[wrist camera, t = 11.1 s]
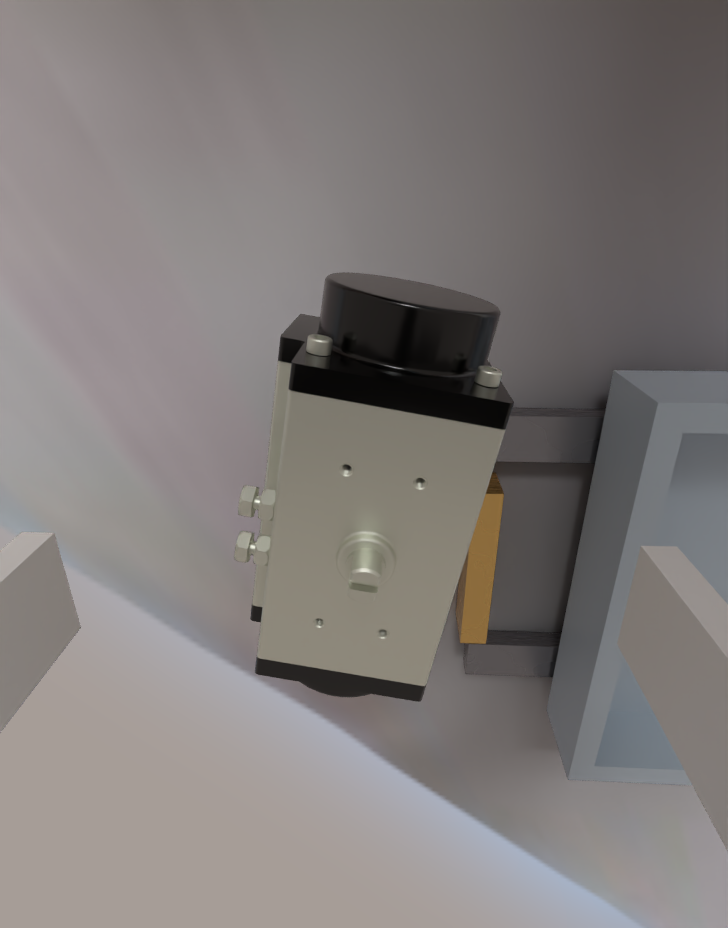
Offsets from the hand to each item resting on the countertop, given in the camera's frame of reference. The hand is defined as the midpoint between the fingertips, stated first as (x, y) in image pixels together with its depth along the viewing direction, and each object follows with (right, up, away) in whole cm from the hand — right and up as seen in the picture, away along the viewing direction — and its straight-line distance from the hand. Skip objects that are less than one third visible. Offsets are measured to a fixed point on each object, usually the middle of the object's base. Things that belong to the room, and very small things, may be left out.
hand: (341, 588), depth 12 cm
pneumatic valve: (+1, +5, +11) cm, 12 cm away
